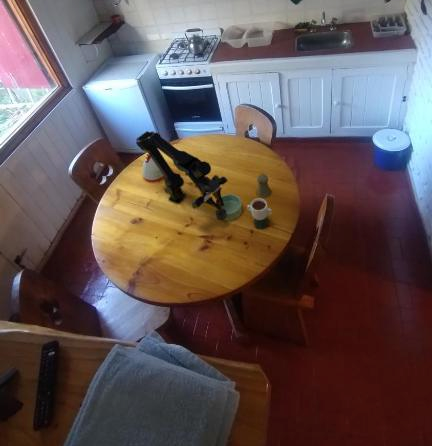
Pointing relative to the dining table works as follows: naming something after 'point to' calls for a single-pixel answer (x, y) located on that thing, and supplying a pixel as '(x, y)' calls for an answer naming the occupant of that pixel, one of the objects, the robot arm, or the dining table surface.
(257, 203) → the character mug
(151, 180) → the kitchen timer
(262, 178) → the pepper mill
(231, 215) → the bowl
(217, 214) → the grey peg stand
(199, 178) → the robot arm
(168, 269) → the dining table surface
